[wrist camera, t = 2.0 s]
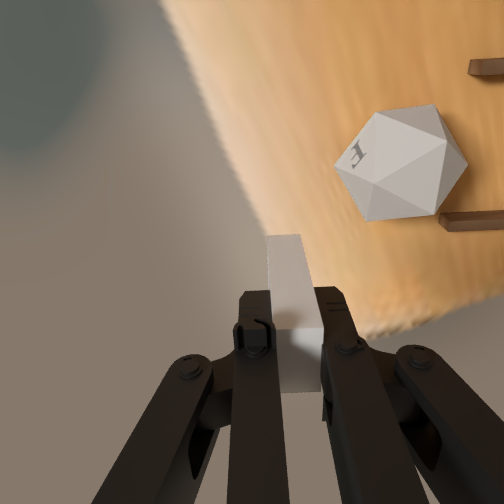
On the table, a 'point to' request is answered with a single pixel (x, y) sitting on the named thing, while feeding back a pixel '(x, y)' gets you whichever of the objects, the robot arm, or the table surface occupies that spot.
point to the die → (401, 164)
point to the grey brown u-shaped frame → (479, 218)
